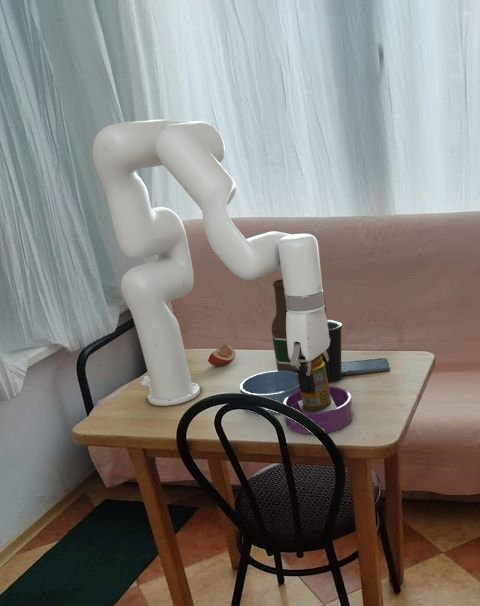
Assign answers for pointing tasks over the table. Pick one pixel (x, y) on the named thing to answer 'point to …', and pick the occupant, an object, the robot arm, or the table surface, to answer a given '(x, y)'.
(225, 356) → the fruit slice
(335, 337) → the drinking cup
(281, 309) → the beer bottle
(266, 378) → the slate bowl
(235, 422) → the table surface
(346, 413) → the plum bowl
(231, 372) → the table surface
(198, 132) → the robot arm
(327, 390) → the condiment
